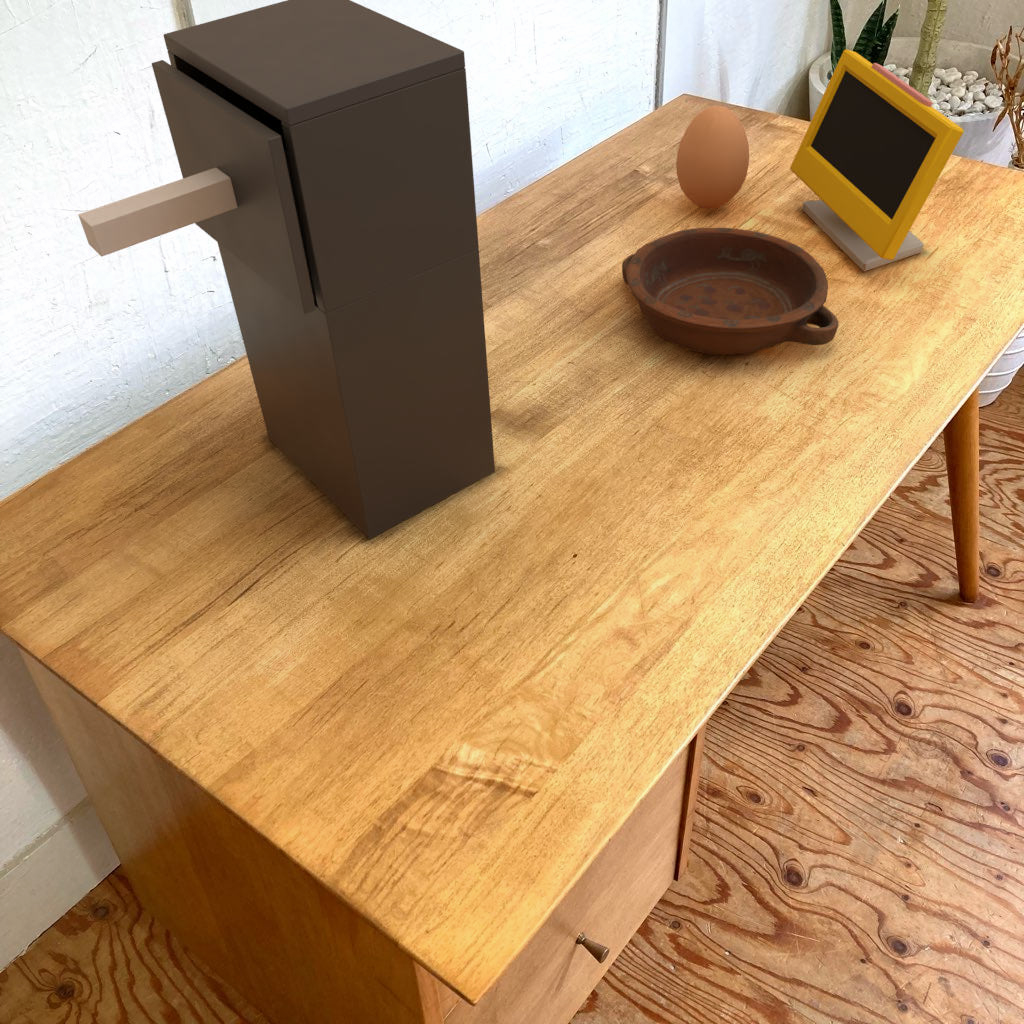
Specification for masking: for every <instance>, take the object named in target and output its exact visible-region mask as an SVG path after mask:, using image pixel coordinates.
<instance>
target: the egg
mask: <svg viewBox="0 0 1024 1024" xmlns="http://www.w3.org/2000/svg"><path fill="white" fill-rule="evenodd" d="M675 163H676V164H675V165H676V167H675V168H676V176H677V181H678V183H679V186H680V189H681V191H682V192H683V194H684V195H685V197H686V198H687V199H688V200H689V201H690V202H691V203H692V204H694V205H695V206H697V207H699V208H703V209H707V210H709V209H717V208H720V207H723V206H724V205H726V204H728V202H730V201H731V200H732V199H733V198H735V196H736V195H737V194H738V193H739V191H740V190H741V188H742V187H743V185H744V183H745V181H746V179H747V175H748V171H749V165H750V145H749V140H748V136H747V133H746V130H745V128H744V126H743V124H742V122H741V120H740V118H739V117H738V115H736V114H735V112H733V111H732V110H730V109H729V108H727V107H725V106H721V105H714V106H710V107H707V108H705V109H703V110H702V111H700V112H698V114H696V116H695V117H693V119H692V120H691V121H690V123H689V124H688V126H687V127H686V129H685V131H684V133H683V135H682V138H681V139H680V141H679V146H678V150H677V154H676V161H675Z"/></svg>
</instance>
